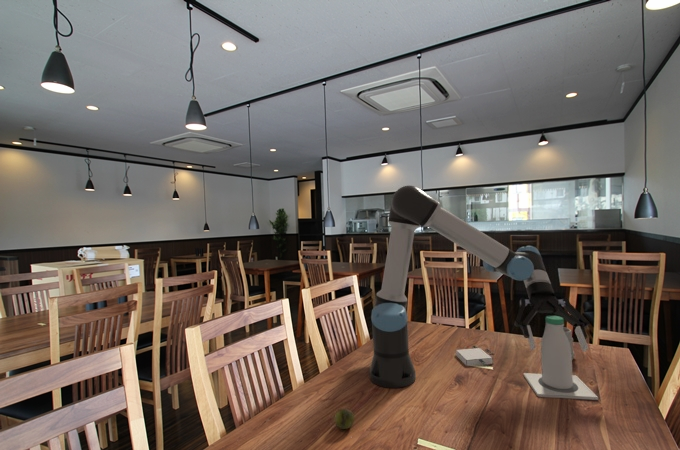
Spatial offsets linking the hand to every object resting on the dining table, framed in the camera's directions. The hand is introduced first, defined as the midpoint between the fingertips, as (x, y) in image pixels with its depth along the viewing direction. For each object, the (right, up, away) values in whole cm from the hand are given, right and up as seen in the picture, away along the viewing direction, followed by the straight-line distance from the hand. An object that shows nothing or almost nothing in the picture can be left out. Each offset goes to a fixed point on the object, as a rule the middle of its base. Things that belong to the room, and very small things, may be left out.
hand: (558, 348), depth 98 cm
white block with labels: (-14, -13, +25) cm, 31 cm away
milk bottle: (+1, -12, +2) cm, 12 cm away
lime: (-63, -16, -12) cm, 66 cm away
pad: (+1, -12, +2) cm, 12 cm away
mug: (+15, -11, +25) cm, 31 cm away
